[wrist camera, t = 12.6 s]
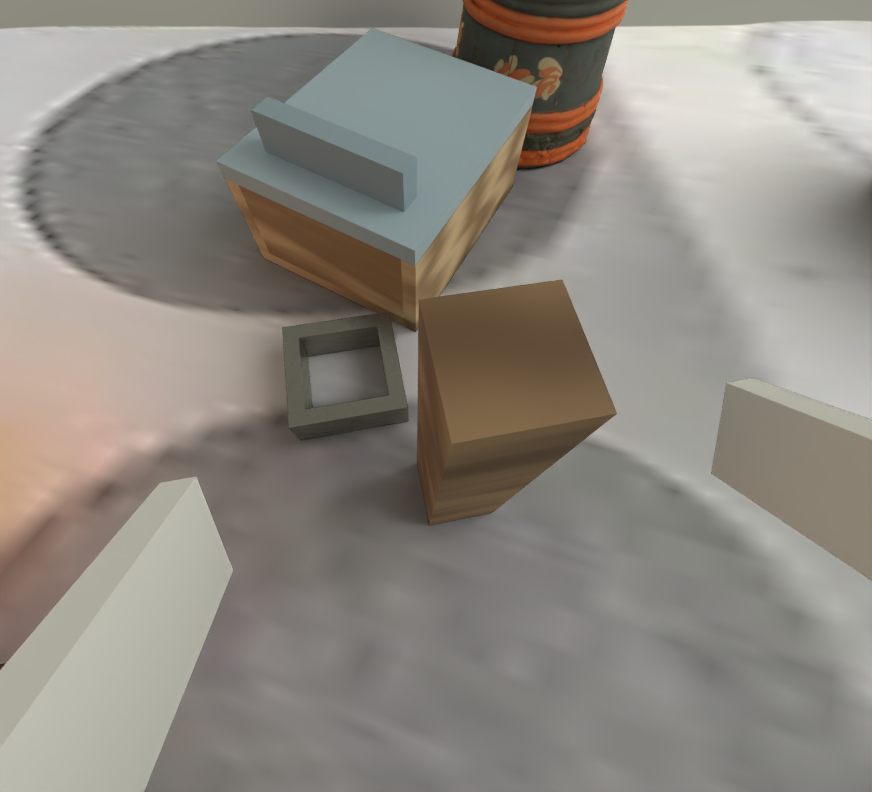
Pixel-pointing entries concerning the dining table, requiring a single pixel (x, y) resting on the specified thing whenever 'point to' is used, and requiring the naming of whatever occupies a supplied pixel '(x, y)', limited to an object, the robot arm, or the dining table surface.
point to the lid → (381, 141)
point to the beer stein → (545, 62)
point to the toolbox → (370, 267)
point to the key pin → (500, 394)
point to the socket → (337, 339)
